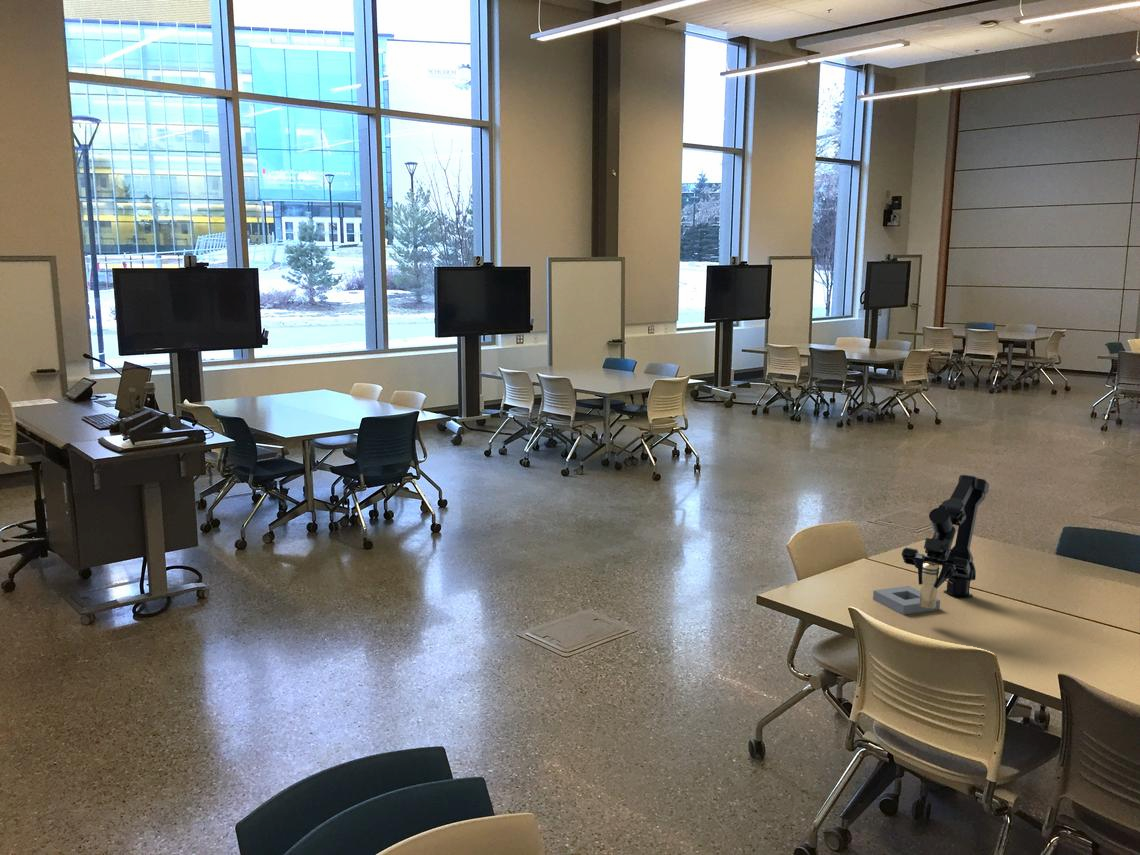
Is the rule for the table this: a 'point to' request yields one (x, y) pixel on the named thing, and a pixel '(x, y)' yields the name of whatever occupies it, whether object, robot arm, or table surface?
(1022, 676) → the table surface
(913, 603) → the grey square frame
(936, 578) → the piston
